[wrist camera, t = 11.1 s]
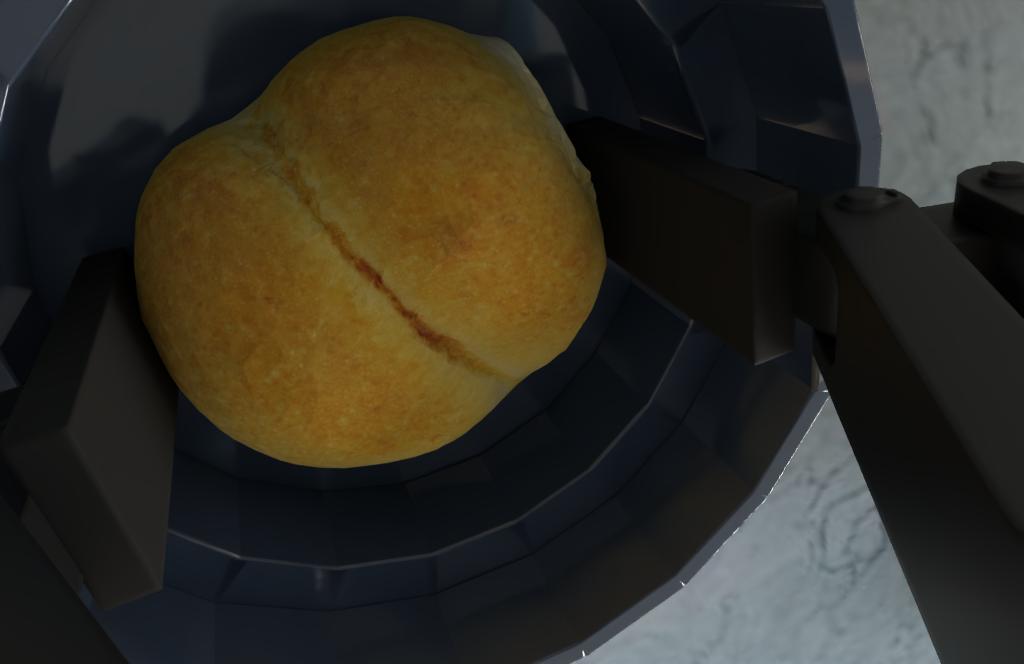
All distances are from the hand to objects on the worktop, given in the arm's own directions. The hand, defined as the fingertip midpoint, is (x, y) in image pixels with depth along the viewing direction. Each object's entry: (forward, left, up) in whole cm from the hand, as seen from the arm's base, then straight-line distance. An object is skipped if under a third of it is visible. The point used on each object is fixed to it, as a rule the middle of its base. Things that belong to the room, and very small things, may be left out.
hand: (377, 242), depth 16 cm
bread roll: (0, 0, 0) cm, 0 cm away
